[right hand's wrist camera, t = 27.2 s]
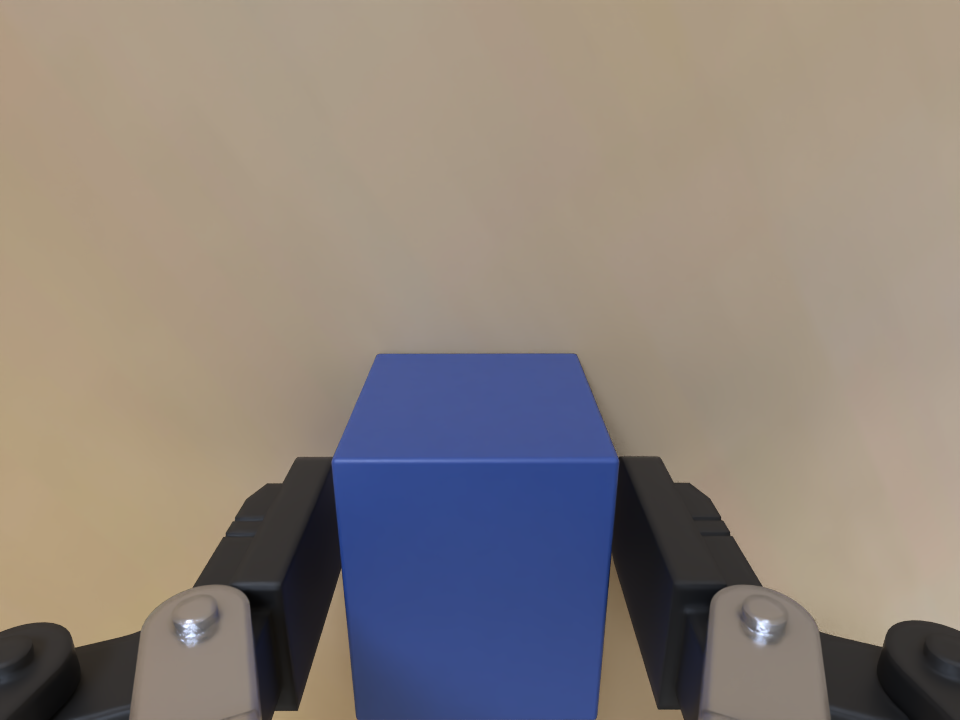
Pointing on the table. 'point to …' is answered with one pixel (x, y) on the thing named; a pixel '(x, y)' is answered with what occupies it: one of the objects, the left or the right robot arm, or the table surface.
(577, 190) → the table surface
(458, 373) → the block
